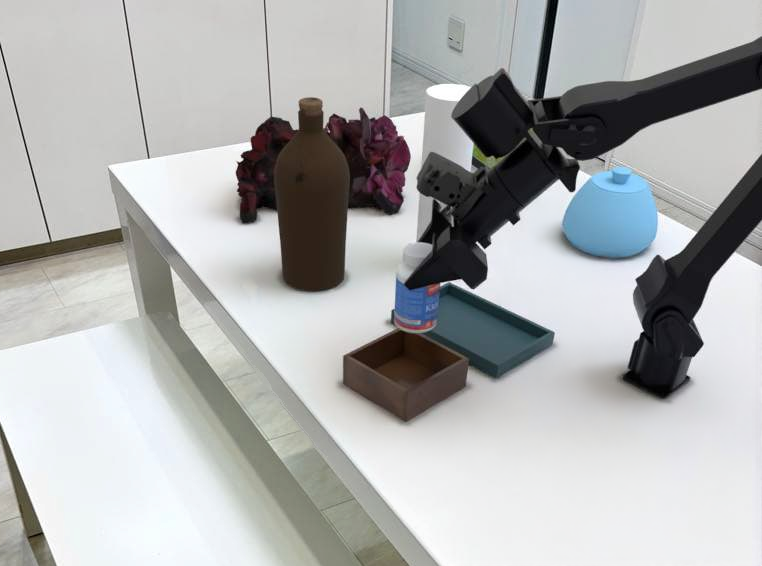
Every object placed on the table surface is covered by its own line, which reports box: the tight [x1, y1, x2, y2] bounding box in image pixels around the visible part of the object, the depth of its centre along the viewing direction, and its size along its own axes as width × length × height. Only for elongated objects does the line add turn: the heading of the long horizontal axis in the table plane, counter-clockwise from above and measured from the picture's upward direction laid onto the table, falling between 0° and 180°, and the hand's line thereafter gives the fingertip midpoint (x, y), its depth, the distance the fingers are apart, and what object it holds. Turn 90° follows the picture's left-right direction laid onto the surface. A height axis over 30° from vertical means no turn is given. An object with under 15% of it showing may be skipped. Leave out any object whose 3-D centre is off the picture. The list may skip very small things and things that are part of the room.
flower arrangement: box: [235, 107, 412, 224], centre depth 146 cm, size 31×20×15 cm, turn 107°
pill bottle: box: [394, 241, 441, 333], centre depth 105 cm, size 6×5×10 cm
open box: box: [342, 327, 470, 423], centre depth 109 cm, size 11×11×4 cm
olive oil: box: [274, 96, 350, 292], centre depth 122 cm, size 11×11×25 cm
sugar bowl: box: [561, 166, 659, 259], centre depth 138 cm, size 15×15×12 cm
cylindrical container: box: [415, 83, 474, 243], centre depth 126 cm, size 7×7×25 cm
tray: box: [390, 281, 556, 379], centre depth 119 cm, size 19×12×2 cm, turn 44°
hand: (406, 275), depth 104 cm, fingers closed on pill bottle, 5 cm apart
